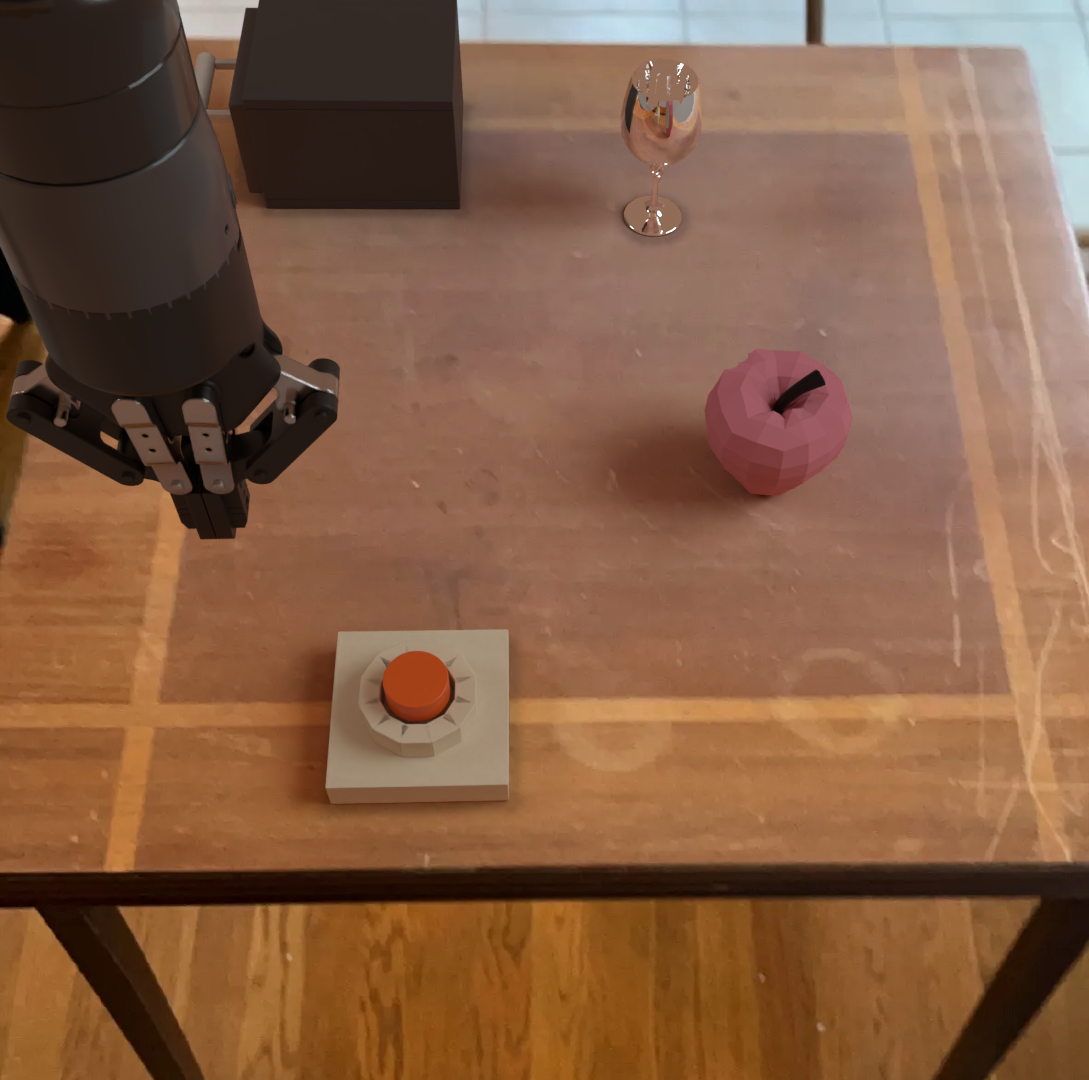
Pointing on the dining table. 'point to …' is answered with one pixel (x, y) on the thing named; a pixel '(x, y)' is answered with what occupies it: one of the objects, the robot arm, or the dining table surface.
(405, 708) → the button
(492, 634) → the control block
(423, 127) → the dark brown box
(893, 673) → the dining table surface
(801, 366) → the apple
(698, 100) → the wineglass
